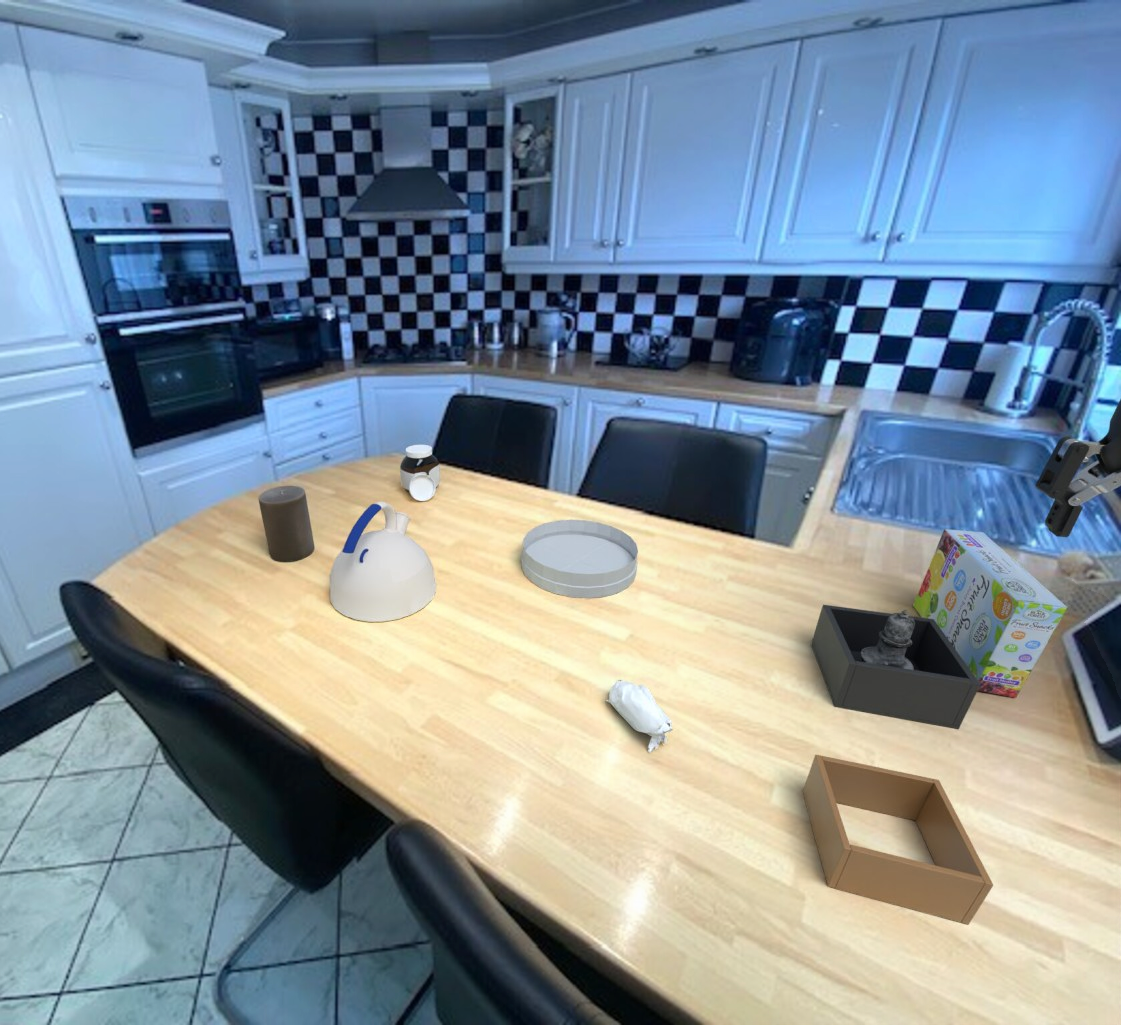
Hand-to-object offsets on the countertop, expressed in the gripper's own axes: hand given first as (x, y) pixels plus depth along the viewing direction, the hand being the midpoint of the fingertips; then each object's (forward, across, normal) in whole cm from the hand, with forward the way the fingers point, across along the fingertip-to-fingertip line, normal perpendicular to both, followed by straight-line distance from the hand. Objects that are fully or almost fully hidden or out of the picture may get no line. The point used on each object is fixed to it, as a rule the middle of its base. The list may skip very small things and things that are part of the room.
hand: (1110, 538), depth 58 cm
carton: (+28, -20, -22) cm, 41 cm away
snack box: (+28, +2, +18) cm, 33 cm away
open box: (+28, -12, +6) cm, 31 cm away
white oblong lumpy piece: (+28, -44, -12) cm, 53 cm away
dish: (+28, -56, +26) cm, 68 cm away
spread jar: (+27, -99, +53) cm, 116 cm away
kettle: (+27, -90, +8) cm, 95 cm away
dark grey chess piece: (+28, -12, +6) cm, 31 cm away
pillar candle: (+27, -116, +17) cm, 121 cm away
